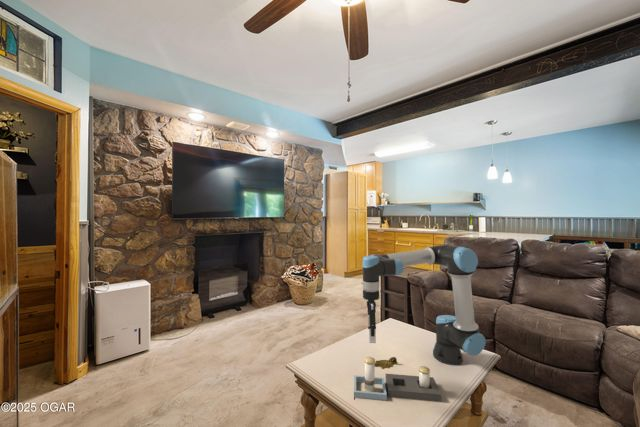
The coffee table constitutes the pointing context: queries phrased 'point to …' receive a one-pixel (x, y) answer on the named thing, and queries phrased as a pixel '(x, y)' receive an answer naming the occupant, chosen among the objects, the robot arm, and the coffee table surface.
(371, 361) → the cylinder
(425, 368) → the fuse
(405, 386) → the fuse holder
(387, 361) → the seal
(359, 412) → the coffee table surface
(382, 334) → the coffee table surface
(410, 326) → the coffee table surface
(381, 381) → the parts tray
